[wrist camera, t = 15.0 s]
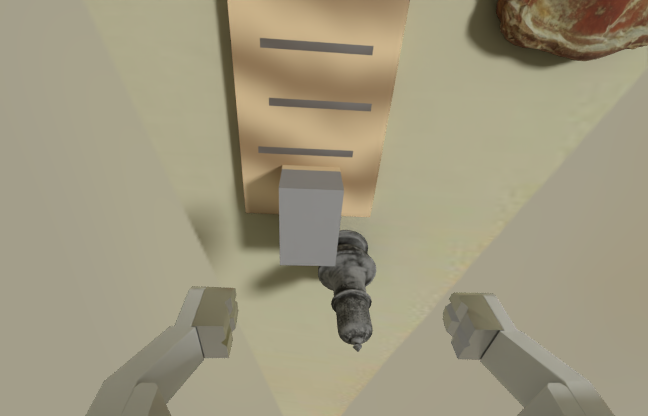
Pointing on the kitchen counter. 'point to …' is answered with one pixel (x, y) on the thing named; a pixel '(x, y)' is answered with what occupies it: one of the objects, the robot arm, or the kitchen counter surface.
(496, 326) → the robot arm
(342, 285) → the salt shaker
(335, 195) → the block
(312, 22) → the board
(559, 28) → the oyster shell
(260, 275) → the kitchen counter surface
